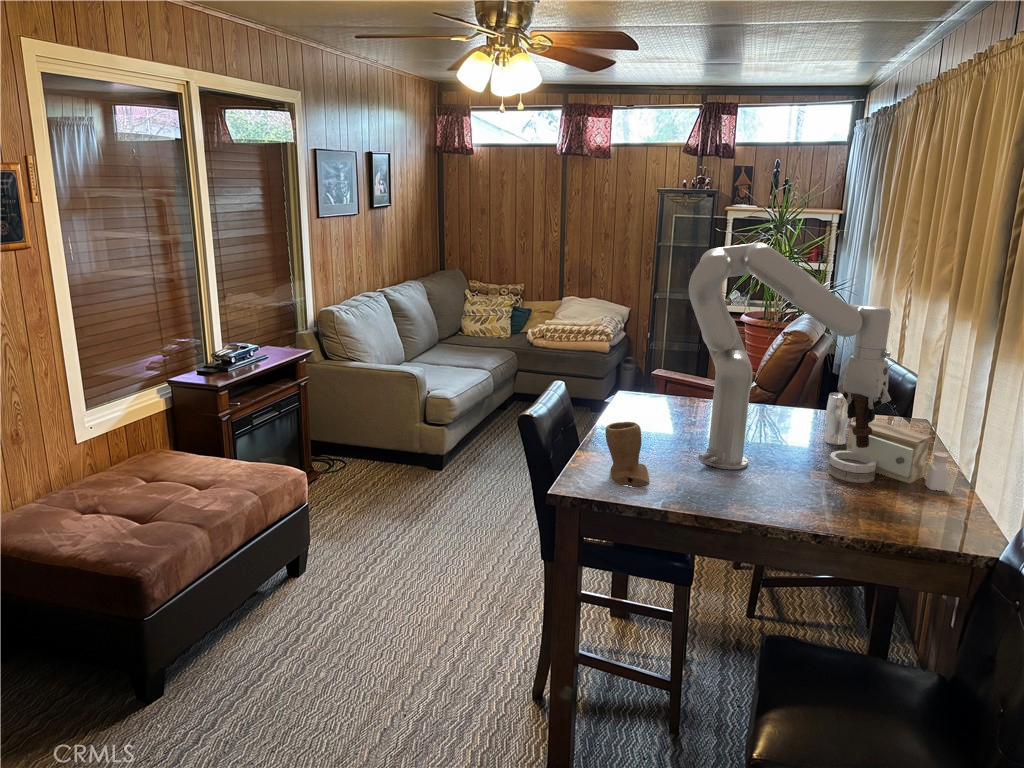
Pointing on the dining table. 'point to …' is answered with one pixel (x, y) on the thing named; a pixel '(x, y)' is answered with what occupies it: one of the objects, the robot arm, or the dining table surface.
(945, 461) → the pepper shaker
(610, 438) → the tan hollow piece
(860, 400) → the bolt
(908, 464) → the grey piece
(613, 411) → the dining table surface
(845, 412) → the silver tall cylinder
